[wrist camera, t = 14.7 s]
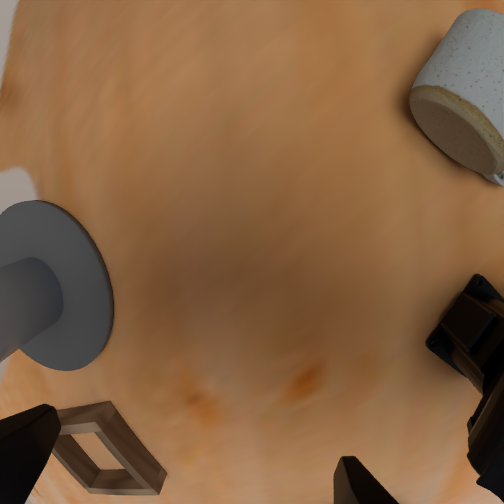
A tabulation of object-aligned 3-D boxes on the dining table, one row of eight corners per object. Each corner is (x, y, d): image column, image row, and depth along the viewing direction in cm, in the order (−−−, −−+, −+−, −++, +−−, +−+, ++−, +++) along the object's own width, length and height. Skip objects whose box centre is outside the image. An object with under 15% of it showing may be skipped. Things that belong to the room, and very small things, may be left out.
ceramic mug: (383, 107, 17) (440, 73, 10) (436, 31, 16) (493, -13, 8) (487, 213, 18) (561, 231, 11) (529, 133, 17) (597, 129, 9)
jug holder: (110, 401, 23) (95, 421, 21) (167, 473, 25) (159, 495, 22) (47, 412, 25) (32, 428, 22) (99, 475, 26) (89, 493, 24)
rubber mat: (145, 271, 21) (140, 275, 20) (81, 394, 24) (77, 398, 23) (16, 167, 20) (10, 168, 19) (-20, 298, 23) (-25, 301, 22)
